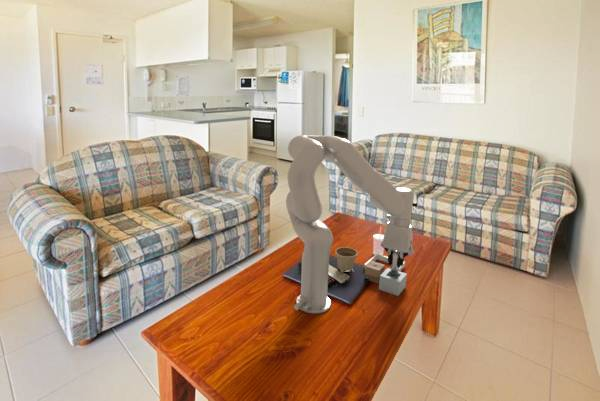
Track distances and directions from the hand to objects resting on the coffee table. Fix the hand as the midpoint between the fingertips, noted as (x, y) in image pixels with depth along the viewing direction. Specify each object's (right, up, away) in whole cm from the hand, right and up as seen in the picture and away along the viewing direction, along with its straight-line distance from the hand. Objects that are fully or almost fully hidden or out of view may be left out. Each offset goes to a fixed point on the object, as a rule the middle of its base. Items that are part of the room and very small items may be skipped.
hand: (395, 264), depth 141 cm
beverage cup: (0, -1, +33) cm, 33 cm away
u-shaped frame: (0, -5, +19) cm, 20 cm away
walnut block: (-6, -8, +10) cm, 14 cm away
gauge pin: (0, -4, +1) cm, 4 cm away
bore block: (0, -10, +3) cm, 10 cm away
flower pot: (-17, -5, +16) cm, 25 cm away
